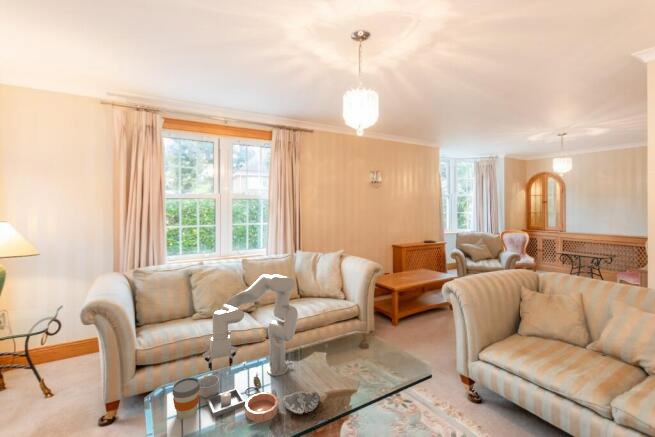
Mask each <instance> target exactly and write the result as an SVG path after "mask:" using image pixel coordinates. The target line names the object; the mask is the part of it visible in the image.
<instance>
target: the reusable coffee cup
mask: <svg viewBox="0 0 655 437" xmlns="http://www.w3.org/2000/svg"><path fill="white" fill-rule="evenodd" d="M199 381H200V380H199V379H198V378H196V377H185V378H182V379H180V380H178V381H176V382H175V383H174V384H173V386H172V392H171V393H172V396H173V404H174V406H173V407H174V409H175V411H176V416H177V418H178V419H179V420H185V419H188V418H191V417H193V416H194V415H195V414H196V413H197V411H198V404H199V401H200V392H199V389H200V383H199Z"/></svg>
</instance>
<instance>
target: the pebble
mask: <svg viewBox="0 0 655 437" xmlns="http://www.w3.org/2000/svg"><path fill="white" fill-rule="evenodd" d="M221 393H222V394H221ZM221 393H220V394H221V406H222V407H227V406H230V405H231V393H230V392H227V391H224V392H221Z"/></svg>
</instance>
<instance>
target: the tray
mask: <svg viewBox="0 0 655 437" xmlns="http://www.w3.org/2000/svg"><path fill="white" fill-rule="evenodd" d="M226 392H230V393H231V405H230V406H227V407H222V406H221V394H222V393H223V392H221V393H217V394H216V395H214V396H212V397H209V398H206V404H207V406H208V409H209V411H210V413H211V416H212V418H216V417H218V416H222V415H223V414H226V413H230V412H233V411H235V410H238V409H240V408H243V407H245V404H246V400H245V398H244V397H243V395H242V394H241V392H240V390H239V388H237V387H235V388H233V389H230V390H227V391H226Z"/></svg>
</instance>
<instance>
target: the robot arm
mask: <svg viewBox="0 0 655 437" xmlns="http://www.w3.org/2000/svg"><path fill="white" fill-rule="evenodd" d="M295 286H296V281H295V279H294V278H293V277H290V276H286V275H284V274H267V273H264V274H261V275H260V276H259V277H258V278H257V279H256V281H254V282H253V283H252V284H251V285H250V286H249V287H248V288H247V289H245V290H243V291H240V292H239V293H236V294H235V295H233V296H231V297H230V298H228V299H227V301H225V302H224V303H223V305H221V307H220V309H219V310H216V311H214V312H213V313H212V337H210V342H209V350H207V351H205V352H204V353H203V354H202V357H203V359H204V361H205V362H207V363H208V365H207V366H208V369H209V371H212V370H213V362H212V361H213V360H216V359H220V358H225V357H228V363H229V364H228V365H229V367H232V364H233V359H234V357H235V356H236V354H237V353H238V350H239V349H238V347H236V346H233V345H232V344H231V337H230V334H232V331H231V330H229V325H230V324H237V323H240V322H241V321H243V319H244V317H245V313H244V312H245V311H243V310H242V309H241V308H239V306H241V305H244V304H250V303H256V302H258V301H259V299H261V297H262V296H264V294H265V293H267V291H270V292H274V293H275V302H274V305H273V316H274V317H275V318H277V319H274V320H271V321H270V322H269V323H268V326H267V332H268V339H269V366H268V367H267V369H266V370H267V371H266V372H267V374H269V376H273V377H280V376H283V375H285V374H287V372H288V369H289V368H288V366H291V365H293V361H292V360H290V361H289V360H286V342H290V341H292V339H293V338H294V336H295V334H296V329H297V322H298V316H299V313H298V310H297V308H296V307H294V305H290V299H291V292H292V291H293V290H294V289H295ZM208 355H209V357H208Z"/></svg>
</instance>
